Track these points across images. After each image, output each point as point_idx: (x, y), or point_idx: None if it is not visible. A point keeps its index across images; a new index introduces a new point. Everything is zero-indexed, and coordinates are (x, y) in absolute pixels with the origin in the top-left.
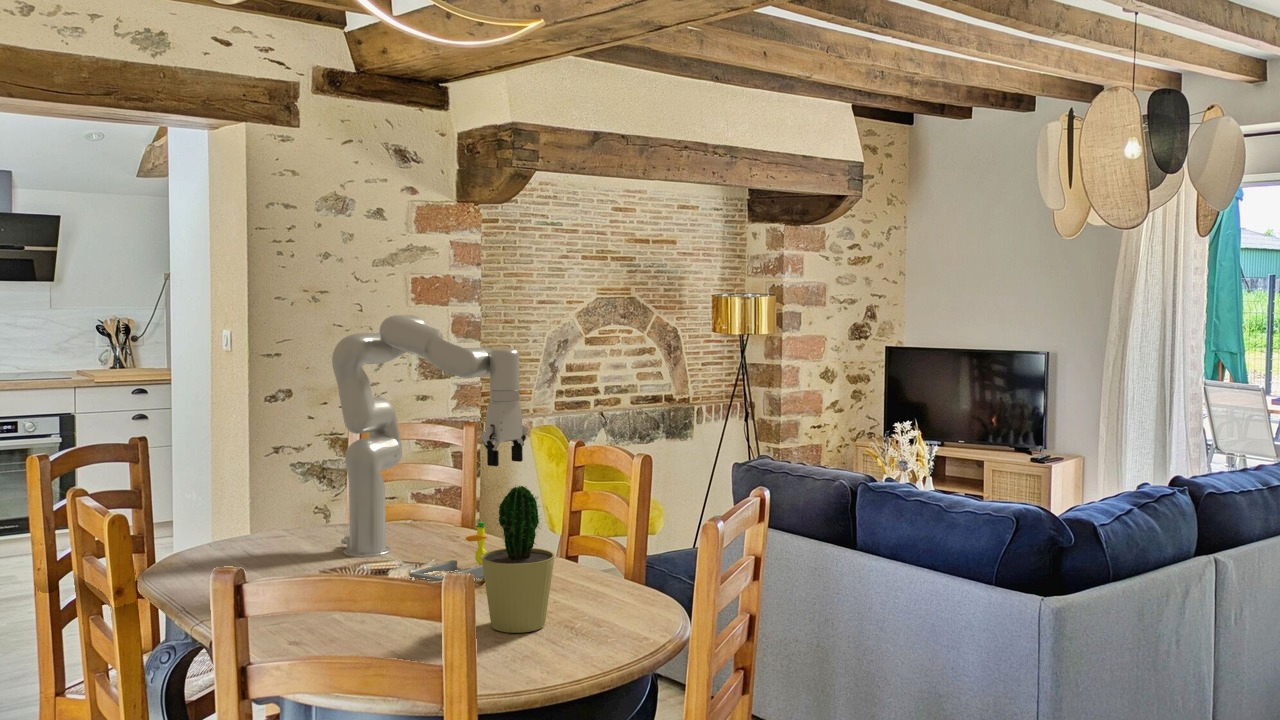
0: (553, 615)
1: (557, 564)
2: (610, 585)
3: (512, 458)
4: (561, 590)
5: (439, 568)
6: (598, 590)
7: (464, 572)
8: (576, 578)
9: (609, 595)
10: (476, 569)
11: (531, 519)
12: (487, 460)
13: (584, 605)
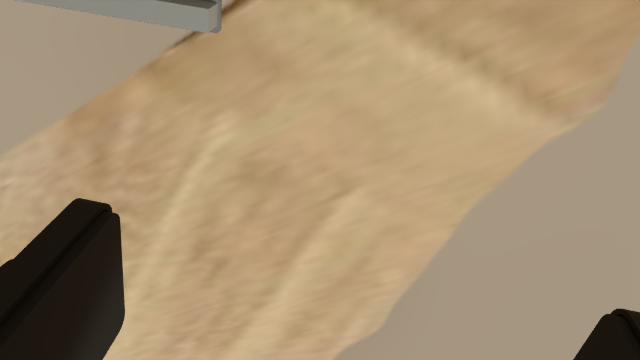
0: None
1: (473, 161)
2: (298, 337)
3: (615, 344)
4: (204, 265)
5: None
6: (246, 328)
7: (78, 9)
8: (327, 260)
9: (221, 353)
10: (146, 21)
11: None
12: (40, 234)
13: (129, 334)
